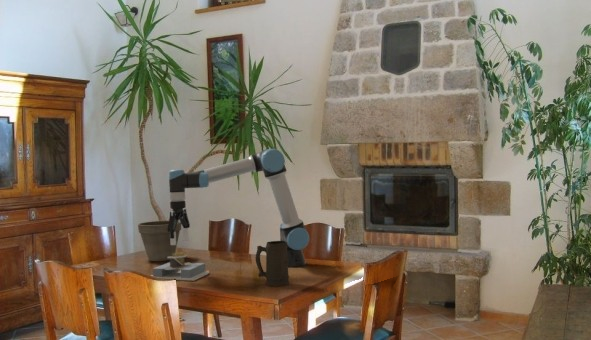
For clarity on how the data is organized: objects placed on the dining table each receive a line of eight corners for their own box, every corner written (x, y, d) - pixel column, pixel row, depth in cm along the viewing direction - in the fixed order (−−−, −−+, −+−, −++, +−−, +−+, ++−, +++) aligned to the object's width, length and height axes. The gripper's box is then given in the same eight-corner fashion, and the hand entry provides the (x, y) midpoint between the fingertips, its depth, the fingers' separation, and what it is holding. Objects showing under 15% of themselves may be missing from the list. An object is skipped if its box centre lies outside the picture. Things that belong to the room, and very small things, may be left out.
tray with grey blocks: (208, 273, 318) (208, 263, 318) (194, 280, 301) (193, 269, 301) (166, 272, 325) (166, 262, 325) (149, 278, 308) (148, 268, 307)
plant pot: (130, 262, 358) (129, 224, 357) (153, 255, 381) (152, 219, 380) (168, 263, 350) (167, 225, 349) (189, 256, 373) (188, 220, 373)
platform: (199, 265, 313) (199, 252, 313) (166, 269, 302) (166, 256, 302) (189, 262, 323) (188, 249, 322) (156, 266, 312) (156, 253, 312)
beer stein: (290, 281, 295) (286, 239, 295) (291, 285, 284) (287, 242, 284) (258, 284, 295) (254, 242, 294) (257, 289, 284) (253, 245, 283)
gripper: (181, 198, 325) (183, 239, 326) (159, 202, 301) (161, 246, 302) (195, 198, 323) (196, 239, 324) (173, 202, 299) (175, 246, 300)
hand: (179, 242), depth 313 cm, fingers open, 13 cm apart
